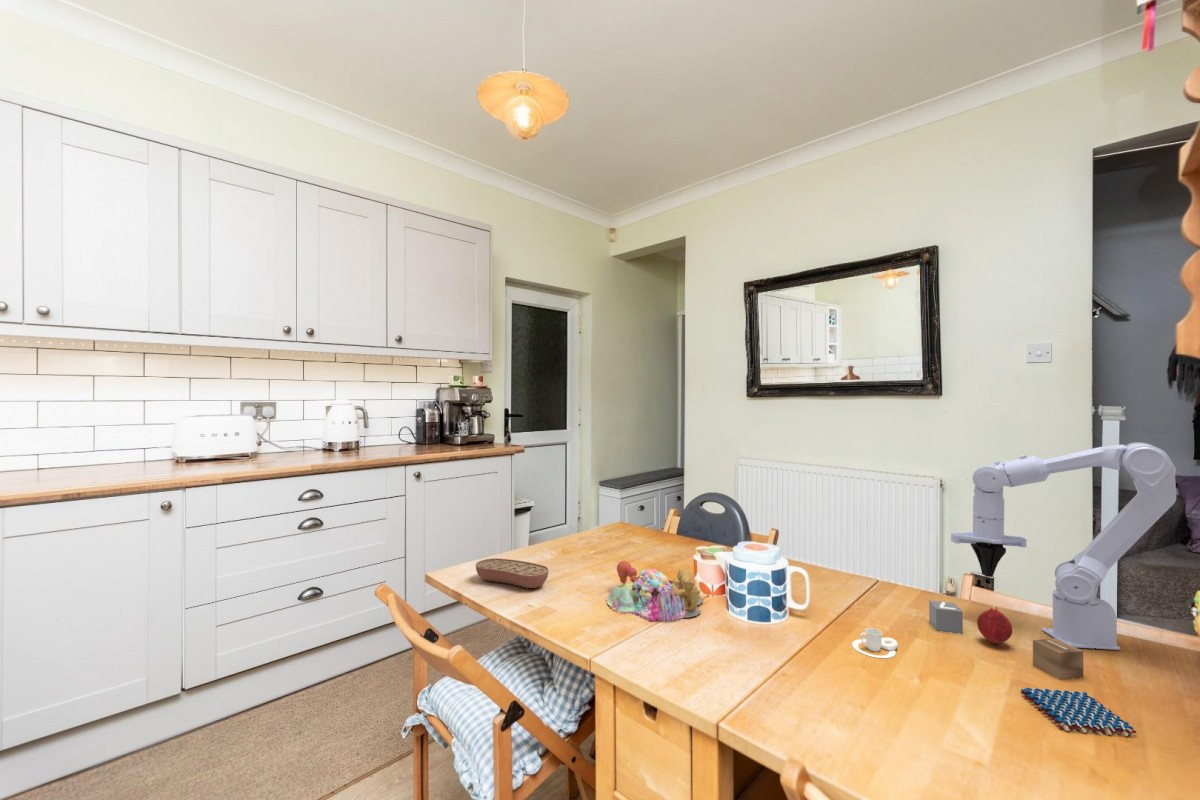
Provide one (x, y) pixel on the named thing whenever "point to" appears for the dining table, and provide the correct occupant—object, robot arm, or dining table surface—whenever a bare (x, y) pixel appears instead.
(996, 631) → the onion
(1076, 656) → the walnut block
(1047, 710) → the woven mat
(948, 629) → the slate grey block
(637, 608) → the candy landscape model
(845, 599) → the dining table surface
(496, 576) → the patterned shoe sole
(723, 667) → the dining table surface
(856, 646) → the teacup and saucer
